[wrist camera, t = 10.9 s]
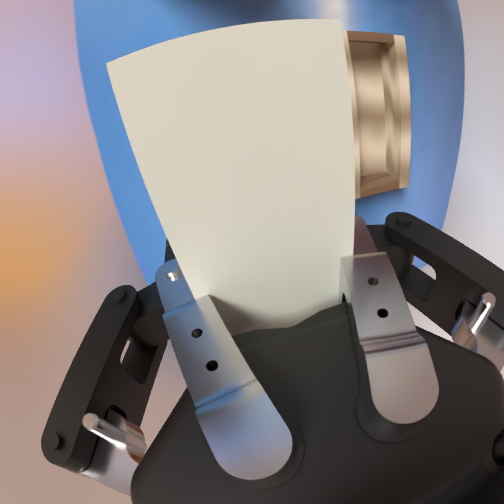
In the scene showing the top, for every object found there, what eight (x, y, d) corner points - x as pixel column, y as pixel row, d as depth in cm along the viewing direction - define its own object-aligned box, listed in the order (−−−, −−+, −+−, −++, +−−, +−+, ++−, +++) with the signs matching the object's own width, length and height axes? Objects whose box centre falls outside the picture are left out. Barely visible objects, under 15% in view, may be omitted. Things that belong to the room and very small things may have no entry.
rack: (314, 34, 21) (332, 30, 18) (382, 36, 21) (404, 36, 18) (333, 186, 32) (348, 200, 29) (390, 173, 32) (408, 186, 29)
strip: (160, 70, 10) (106, 64, 3) (251, 48, 10) (339, 19, 3) (231, 298, 18) (256, 413, 12) (290, 282, 18) (336, 389, 12)
